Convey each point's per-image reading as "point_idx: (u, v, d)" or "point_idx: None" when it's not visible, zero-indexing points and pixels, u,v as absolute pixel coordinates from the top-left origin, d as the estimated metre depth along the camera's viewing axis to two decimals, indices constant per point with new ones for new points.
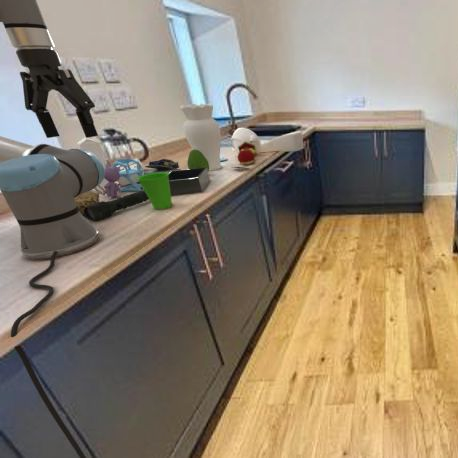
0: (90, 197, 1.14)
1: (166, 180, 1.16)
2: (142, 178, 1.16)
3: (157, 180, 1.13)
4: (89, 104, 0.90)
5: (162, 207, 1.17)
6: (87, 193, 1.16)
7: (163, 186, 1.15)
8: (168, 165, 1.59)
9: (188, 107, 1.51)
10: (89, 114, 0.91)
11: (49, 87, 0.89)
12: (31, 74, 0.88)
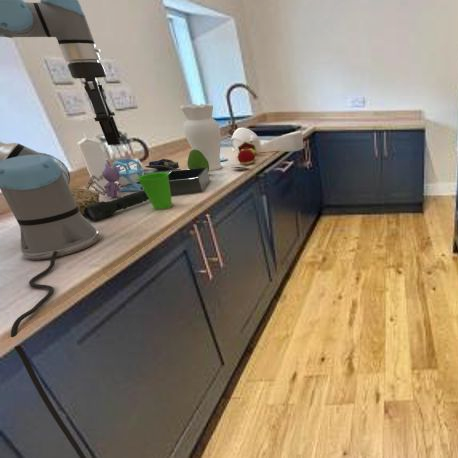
0: (90, 197, 1.14)
1: (166, 180, 1.16)
2: (142, 178, 1.16)
3: (157, 180, 1.13)
4: (101, 115, 0.93)
5: (162, 207, 1.17)
6: (87, 193, 1.16)
7: (163, 186, 1.15)
8: (168, 165, 1.59)
9: (188, 107, 1.51)
10: (107, 124, 0.96)
11: None
12: None
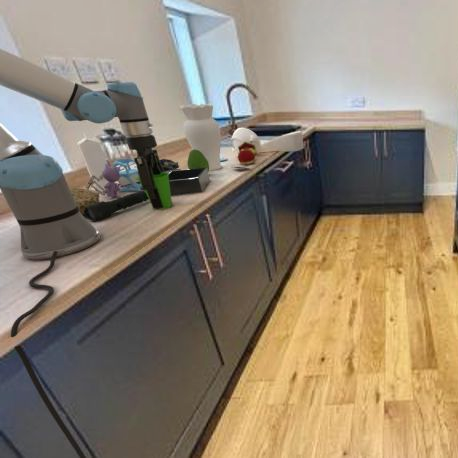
0: (90, 197, 1.14)
1: (166, 180, 1.16)
2: None
3: (157, 180, 1.13)
4: (147, 187, 1.09)
5: None
6: (87, 193, 1.16)
7: (163, 186, 1.15)
8: (168, 165, 1.59)
9: (188, 107, 1.51)
10: (152, 192, 1.12)
11: None
12: None
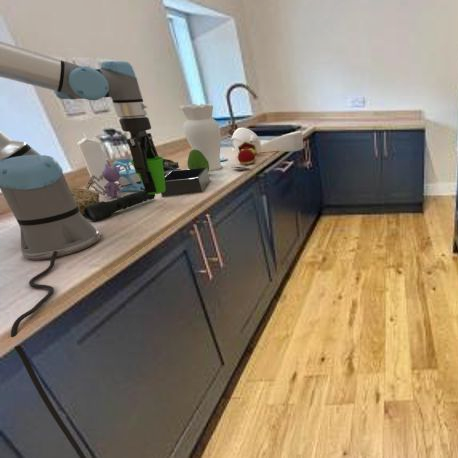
0: (90, 197, 1.14)
1: (160, 164, 1.13)
2: None
3: (150, 163, 1.11)
4: (140, 169, 1.07)
5: (155, 192, 1.15)
6: (87, 193, 1.16)
7: (157, 170, 1.13)
8: (168, 165, 1.59)
9: (188, 107, 1.51)
10: (145, 176, 1.09)
11: None
12: None
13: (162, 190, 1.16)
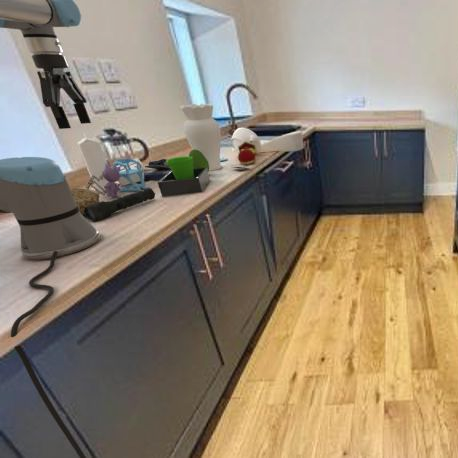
0: (90, 197, 1.14)
1: (190, 163, 1.36)
2: (170, 161, 1.35)
3: (183, 162, 1.33)
4: (48, 101, 1.04)
5: None
6: (87, 193, 1.16)
7: (188, 168, 1.35)
8: (168, 165, 1.59)
9: (188, 107, 1.51)
10: (56, 110, 1.07)
11: None
12: None
13: None
